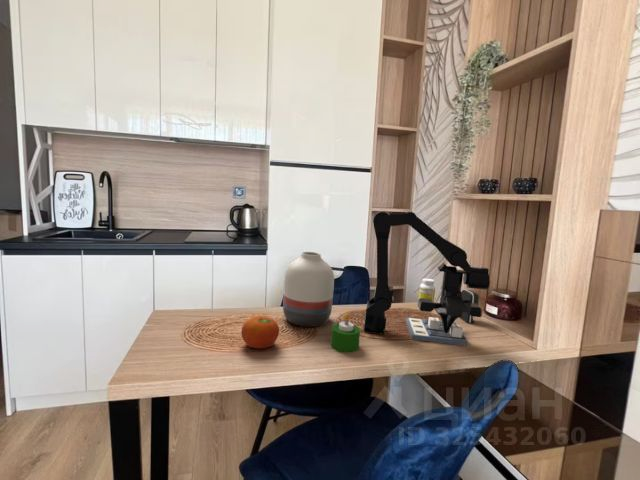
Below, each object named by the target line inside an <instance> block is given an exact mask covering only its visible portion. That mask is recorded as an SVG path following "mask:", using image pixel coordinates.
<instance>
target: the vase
mask: <svg viewBox="0 0 640 480" xmlns="http://www.w3.org/2000/svg"><path fill="white" fill-rule="evenodd" d="M334 284H335V275H334V271H333V268H332V267H331V265H330V264H328V262H326V261H325V260H324V259H323V258H322V256H321V253H320V252H318V251H317V252H316V251H303V252H301V254H300V256H299V257H298V258H296V259H295V260H293V261H292V262H291V263H289V265H288V266H287V267H286V270H285V274H284V279H283V295H282V296H283V297H282V298H283V299H282V309H283V311H282V312H283V315H284V317H285V319H286V320H287V321H288V322H289V323H291V324H293V325H295V326H300V327H306V328H307V327H318V326H321V325H324V324H325V323H326V322H328V321H329V319H330V317H331V314H332V310H333V309H332V308H333V302H334V300H333V298H334V288H335V285H334Z"/></svg>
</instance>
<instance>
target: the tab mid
mask: <svg viewBox="0 0 640 480" xmlns="http://www.w3.org/2000/svg"><path fill="white" fill-rule="evenodd" d="M427 320H428V327H429V329H437V330H439V323H440V321H441V320H440V319H439V317H435V316H433V317H432V316H428V319H427Z"/></svg>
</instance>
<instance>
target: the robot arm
mask: <svg viewBox="0 0 640 480" xmlns="http://www.w3.org/2000/svg"><path fill="white" fill-rule="evenodd" d="M372 222H373V228H374V233H375V238H376V284H375V288H374V289H375V290H374V296H373V297H372V298H370V299H369V300H368V301H367V303H366V309H365V312H364V314H365V315H364V324H363V332H364V333H370V334H379V335H383V334H384V335H385V331H386V327H387V325H386V324H387V317H386V314H385V312H386V311H389V309H391V307H392V304H394V302H395V301H394V285H390V284H389V239H390V234H391V233H390V232H391V228H392V227H396V226H397V227H398V226H405V225H408V226H410V227H411V228H412V229H413V230H414V231H416V232H417V233H418V234H419V235H420V236H422V237H423V238H424V239H425V240H427V241H428V242H429V243H430V244H431V245H432V246H434V247H435V248H436V249H437V250H438V252H439V253H440V254H441V255H442V257H444V259H445V260H446V261H447V262H448V264H449V265H446V263H445V262H443V263H442V264H441V265H439V266H437V269H438V271H439V272H443V276H442V277H443V278H442V282H441V284H442V285H441V288H440V289H441V292H440V298H439V302H435V301H434V302H432V300H431V299H427V298H420V299H419V298H418V300H417V307H418V309H419V310H420V311H421V312H427V313H432V311H435V313H436V314H437V315H438V316H439V317H440V321H442V325H443V329H444V332H445V333H448V331H449V329H450V328H451V326H452V324H453V323H454V322H456V320H458V319H461V317H462V316H463V312H465V313H468V312H469V314H470V315H471V316H473V318H474V317H476V318H482V315H483V310H482V307H480V306H479V304H478V305H477V304H476V303H471V301H470V300H462V297H461V296H462V285H463V284H464V285H466V288H468V289H476V290H485V291H487V290H488V289H489V287H490V283H491V282H490V281H491V280H490V274H489V268H487V267H485V266H484V267H483V266H482V267H479V266H478V267H476V266H471V265H470V264H469V262H468V260H467V259H468V254H467V252H466V251H465V250H464V249H463V248H461V247H460V246H458V245H457V244H455V243H453V242H450V240H448V239H446V238H444V237H442V236H441V235H440V234H439V233H437V232H436V231H435V230H434V229H433V228H432V227H430V226H429V225H428V224H427V223H426V222H424V221H423V220H422V219H420V217H418V216H417V214H416V213H415V212H413V211H411V210H408V211H404V212H391V213H389V212H388V211H386V210H380V211H377V212H376V214H374V217H373V219H372ZM457 267H459V268H460V269H457Z"/></svg>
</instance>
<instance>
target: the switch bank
mask: <svg viewBox="0 0 640 480" xmlns="http://www.w3.org/2000/svg"><path fill="white" fill-rule="evenodd" d="M428 320H429V319H424V318H414V317H405V323H406V327H407V330H408V332H410V333H409V336H410V335H411V336H410V338H411V340H412V339H413V341H421V340H422V342H423V341H424V342H429V341H430V343H431V342H432V343H440V344H448V345H456V346H457V345H458V346H468V340H467V337H466V335H465V334H464V333H462V338H459V337H452V336H451V335H450V329H449V331H448V333H445V332H444V329H443V325H442V320H439V321H440V323H439V330H437V329H429V327H428ZM454 325H458V324H457V323H456V321H454Z"/></svg>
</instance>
